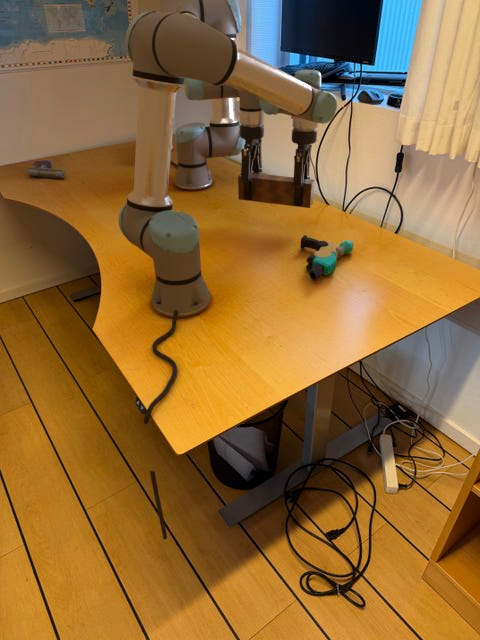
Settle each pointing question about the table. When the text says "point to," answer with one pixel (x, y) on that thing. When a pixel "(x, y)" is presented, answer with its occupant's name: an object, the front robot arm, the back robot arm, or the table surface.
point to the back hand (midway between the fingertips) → (251, 195)
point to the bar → (276, 190)
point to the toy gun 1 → (45, 170)
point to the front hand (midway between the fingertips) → (299, 202)
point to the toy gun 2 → (323, 255)
